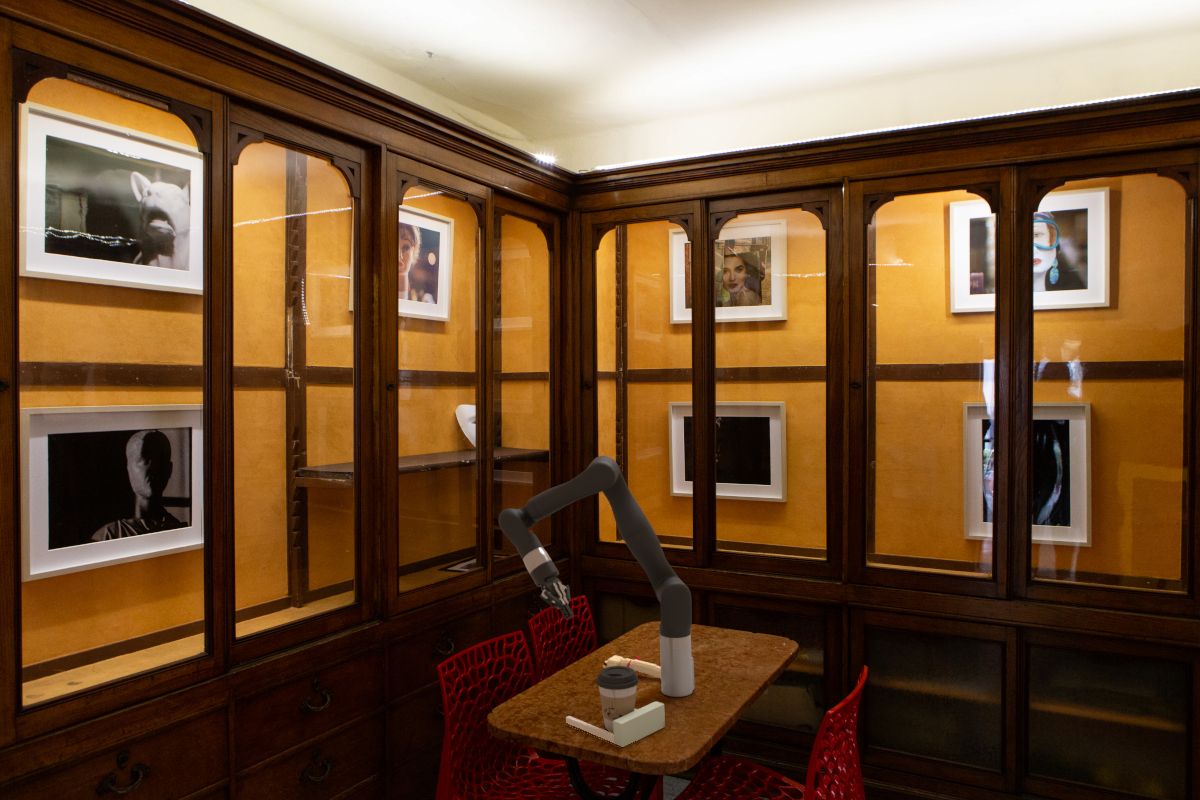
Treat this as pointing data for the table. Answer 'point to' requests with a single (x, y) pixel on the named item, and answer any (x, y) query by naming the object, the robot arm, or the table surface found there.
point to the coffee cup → (617, 693)
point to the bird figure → (635, 665)
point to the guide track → (628, 725)
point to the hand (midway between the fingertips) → (570, 617)
